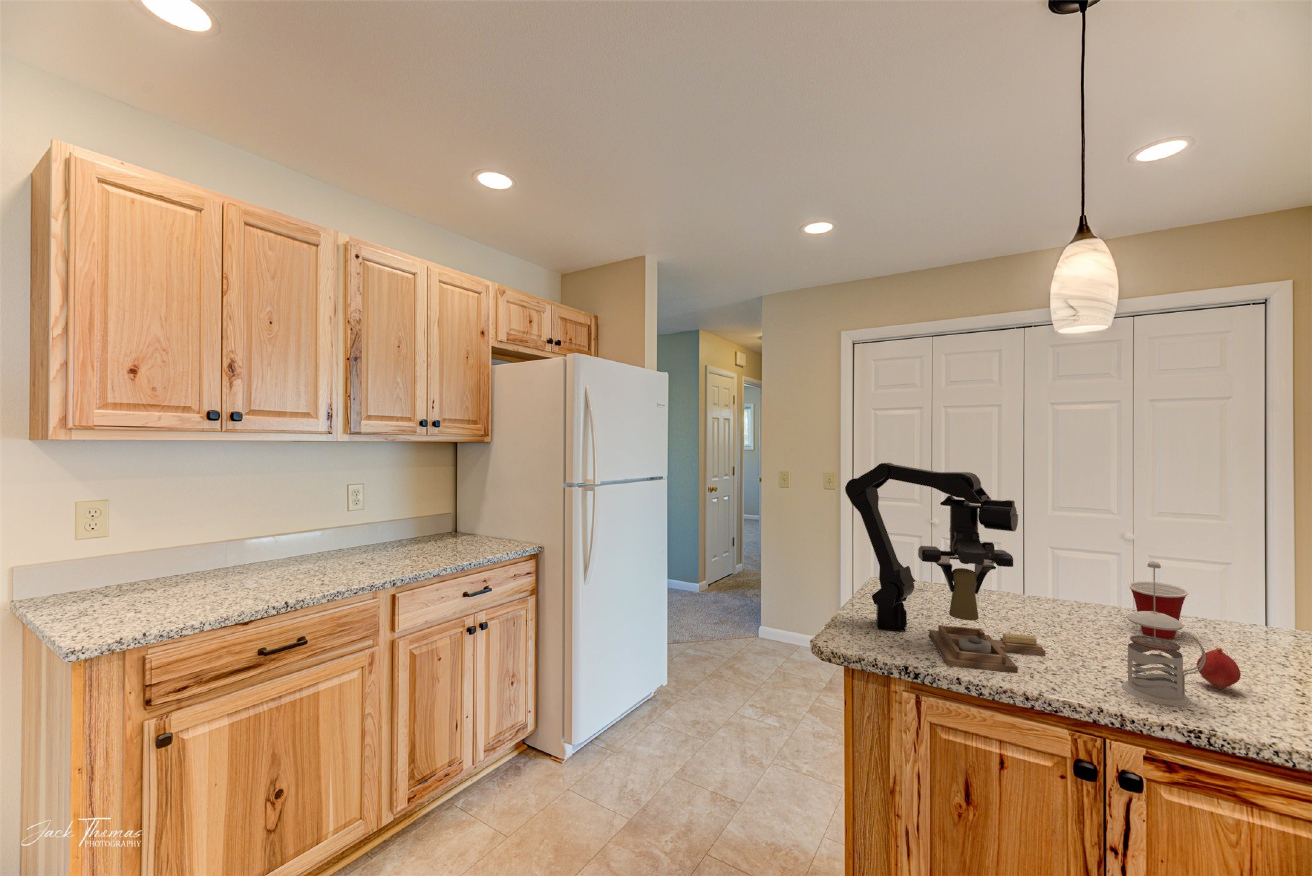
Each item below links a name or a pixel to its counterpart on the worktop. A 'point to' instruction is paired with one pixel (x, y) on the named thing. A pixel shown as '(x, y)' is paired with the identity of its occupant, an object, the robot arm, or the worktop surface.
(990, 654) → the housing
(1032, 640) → the bar
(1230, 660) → the onion
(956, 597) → the olive pepper mill
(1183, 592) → the plastic cup
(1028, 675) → the worktop surface
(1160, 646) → the french press
